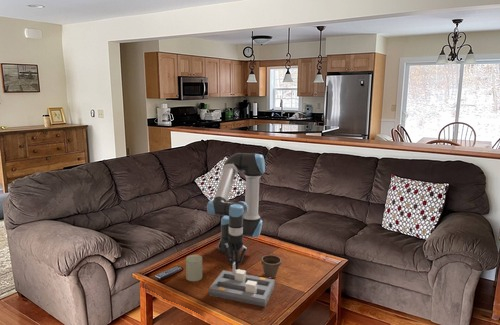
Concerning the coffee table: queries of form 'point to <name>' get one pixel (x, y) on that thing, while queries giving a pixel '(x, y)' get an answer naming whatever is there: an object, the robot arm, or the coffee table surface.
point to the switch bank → (242, 289)
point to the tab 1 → (240, 275)
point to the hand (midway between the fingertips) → (234, 274)
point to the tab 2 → (251, 287)
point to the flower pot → (270, 265)
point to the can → (194, 267)
